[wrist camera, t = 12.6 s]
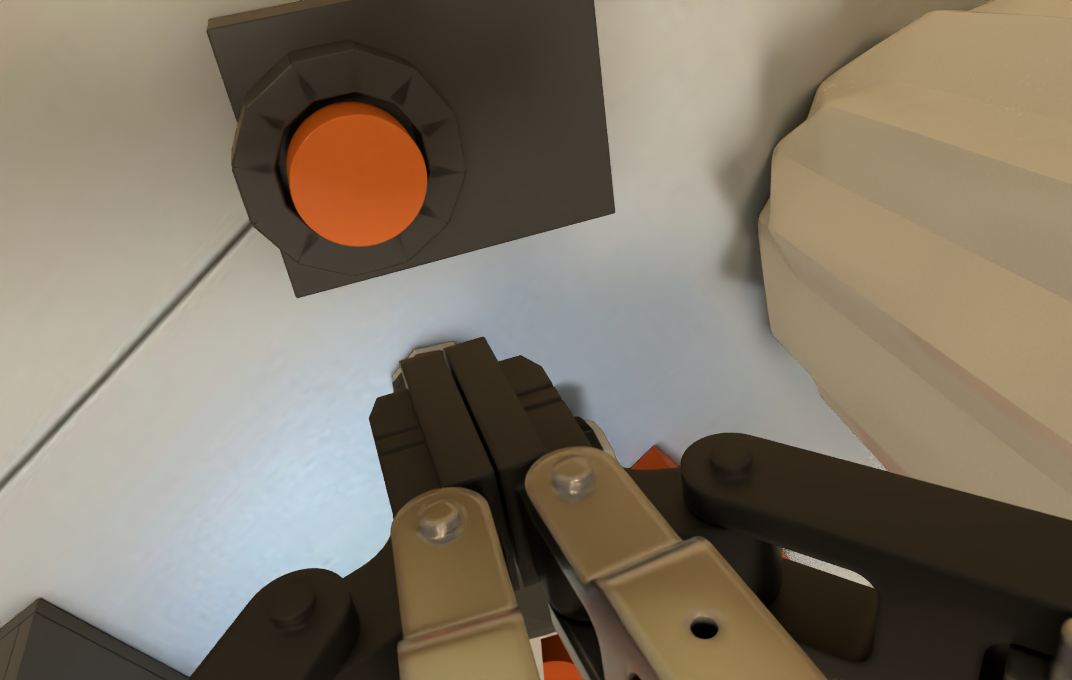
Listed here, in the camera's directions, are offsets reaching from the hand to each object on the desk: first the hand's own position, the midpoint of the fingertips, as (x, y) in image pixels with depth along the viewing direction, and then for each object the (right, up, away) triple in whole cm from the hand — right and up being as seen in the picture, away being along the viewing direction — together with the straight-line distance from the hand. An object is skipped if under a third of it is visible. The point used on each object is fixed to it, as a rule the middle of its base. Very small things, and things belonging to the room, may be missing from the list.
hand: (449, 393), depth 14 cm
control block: (-2, +9, +15) cm, 18 cm away
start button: (-4, +6, +11) cm, 14 cm away
